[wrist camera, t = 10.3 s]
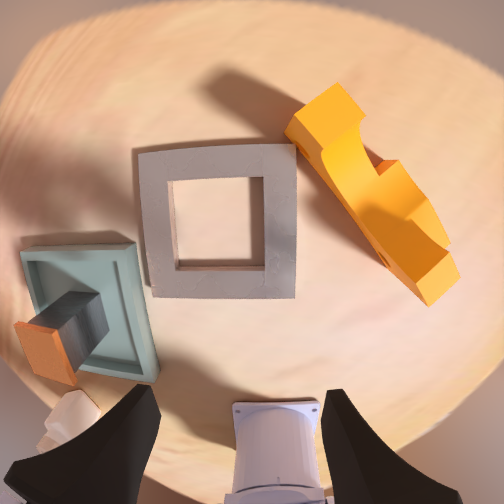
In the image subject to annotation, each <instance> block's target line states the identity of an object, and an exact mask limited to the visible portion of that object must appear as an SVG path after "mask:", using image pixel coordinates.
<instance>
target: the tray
mask: <svg viewBox="0 0 504 504" xmlns="http://www.w3.org/2000/svg"><path fill="white" fill-rule="evenodd" d="M20 256H21V261H22V265H23V270H24V274H25V278H26V282H27V286H28V289H29V293H30V296H31V300H32V303H33V306H34V310H35V313H36V315H38V314H39V313H40V312H42V311H43V310H44V309H45V308H47V307H48V306H49V305H51V304H52V303H53V302H55V301H56V300H57V299H58V298H60V297H61V296H62V295H64V294H65V293H67V292H68V291H79V292H94V293H100V294H101V298H102V303H103V307H104V311H105V315H106V318H107V322H108V326H109V329H110V331H109V332H108V333H107V335H106V336H105V337H104V338H103V339H102V341H101V342H100V343H99V344H98V345H97V347H96V348H95V349H94V350H93V351H92V353H91V354H90V355H89V356H88V357H87V359H86V360H85V361H84V362H83V364H82V365H81V366H80V367H79V370H84V371H88V372H93V373H97V374H102V375H107V376H112V377H118V378H123V379H129V380H136V381H142V382H149V383H155V381H156V379H157V377H158V375H159V373H160V371H161V370H160V366H159V362H158V358H157V354H156V350H155V346H154V342H153V337H152V333H151V328H150V324H149V319H148V314H147V309H146V304H145V298H144V293H143V287H142V281H141V275H140V269H139V262H138V255H137V248H136V243H108V244H78V245H50V246H31V247H29V248H27V249H25V250H23V251H21V252H20Z"/></svg>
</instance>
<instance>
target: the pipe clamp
mask: <svg viewBox="0 0 504 504" xmlns="http://www.w3.org/2000/svg"><path fill="white" fill-rule="evenodd" d="M365 116H366V115H365V114H364V113H363V111H362V110H361V109H360V108H359V106H358V105H357V104H356V103H355V102H354V100H353V99H352V98H351V97H350V96H349V94H348V93H347V92H346V91H345V90H344V89H343V88H342V86H341V85H340V84H339V83H338V82H337V83H336V84H334V85H333V86H331V87H330V88H329V89H327V90H326V91H324V92H323V93H322V94H320V95H319V96H318V97H316V98H315V99H314V100H312V101H311V102H310V103H308V104H307V105H306V106H304V107H303V108H302V109H300V110H299V111H298V112H296V113H295V114H294V115H293V117H292V119H291V121H290V122H289V124H288V126H287V128H286V130H285V131H284V134H285V135H286V136H287V137H288V138H289V139H290V141H291V142H292V143H293V144H296V148H297V149H298V150H299V151H300V152H301V153H302V155H303V156H304V157H305V158H306V159H307V160H308V162H309V163H310V164H311V165H312V167H313V168H314V169H315V170H316V171H317V173H318V174H319V175H320V176H321V178H322V179H323V180H324V181H325V183H326V184H327V185H328V186H329V188H330V189H331V190H332V192H333V193H334V194H335V195H336V197H337V198H338V199H339V201H340V202H341V203H342V205H343V206H344V207H345V209H346V210H347V211H348V213H349V214H350V215H351V217H352V218H353V220H354V221H355V222H356V224H357V225H358V226H359V228H360V229H361V231H362V232H363V234H364V235H365V236H366V238H367V239H368V241H369V242H370V244H371V245H372V247H373V248H374V249H375V251H376V252H377V254H378V255H379V257H380V258H381V260H382V261H383V263H384V265H385V266H386V268H387V269H388V270H389V271H390V272H391V273H393V274H394V275H395V276H396V277H397V278H398V279H399V280H400V281H401V282H402V283H403V284H405V285H406V286H407V287H408V288H409V289H410V290H411V291H412V292H413V293H414V294H415V295H416V296H417V297H418V298H419V299H420V300H421V301H422V302H424V303H425V304H426V305H427V306H428V307H430V306H431V305H432V304H433V303H434V302H435V301H437V300H438V299H439V298H440V297H441V296H442V295H443V294H444V293H445V292H446V291H447V290H448V289H449V288H451V287H452V286H453V285H454V284H455V283H456V282H457V281H458V280H459V279H460V278H461V277H460V275H459V272H458V270H457V268H456V265H455V263H454V261H453V258H452V256H451V254H450V252H449V251H447V250H445V248H446V247H447V246H448V245H449V244H450V240H449V238H448V236H447V234H446V232H445V230H444V228H443V226H442V224H441V222H440V220H439V218H438V216H437V214H436V212H435V210H434V208H433V207H432V205H431V203H430V201H429V199H428V198H427V197H426V196H425V195H424V194H423V193H422V191H421V190H420V189H419V188H418V186H417V185H416V184H415V183H414V181H413V180H412V179H411V177H410V176H409V175H408V173H407V172H406V170H405V169H404V167H403V166H402V164H401V163H400V161H399V160H384V161H383V162H381V163H380V164H379V165H378V166H377V167H375V168H374V167H373V165H372V163H371V162H370V160H369V158H368V156H367V154H366V152H365V149H364V147H363V144H362V141H361V137H360V132H359V126H360V122H361V120H362V119H363V118H364V117H365Z"/></svg>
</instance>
